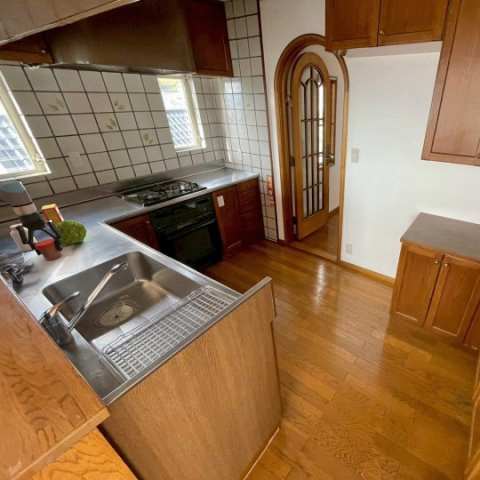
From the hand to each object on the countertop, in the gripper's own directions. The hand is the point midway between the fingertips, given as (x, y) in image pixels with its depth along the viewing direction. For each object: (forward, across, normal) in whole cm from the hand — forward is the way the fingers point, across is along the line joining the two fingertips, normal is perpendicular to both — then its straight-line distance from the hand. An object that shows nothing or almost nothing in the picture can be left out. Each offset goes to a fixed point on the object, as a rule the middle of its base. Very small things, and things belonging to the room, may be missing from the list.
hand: (50, 252), depth 140 cm
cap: (-6, 0, 0) cm, 6 cm away
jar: (+5, 0, 0) cm, 5 cm away
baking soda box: (+5, +15, -56) cm, 58 cm away
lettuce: (+5, -2, -24) cm, 25 cm away
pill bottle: (+5, +20, -26) cm, 33 cm away
